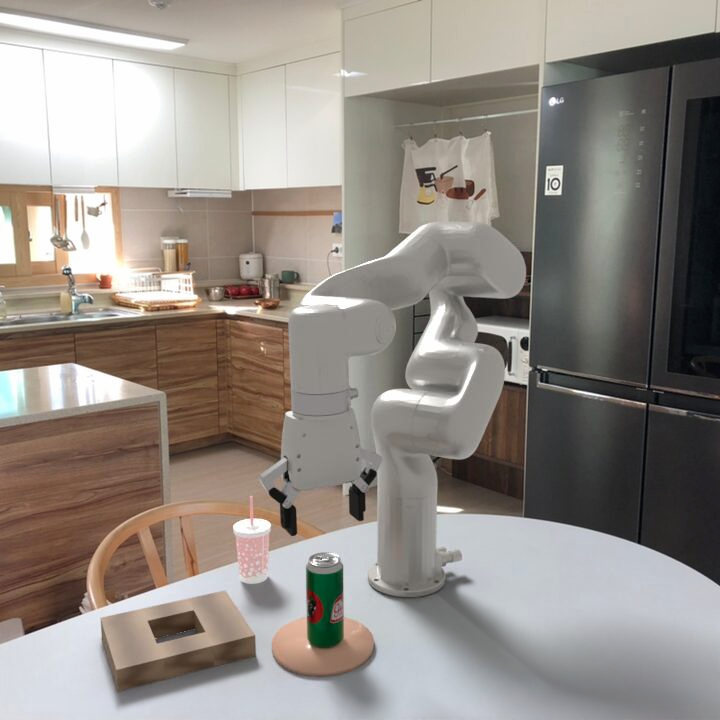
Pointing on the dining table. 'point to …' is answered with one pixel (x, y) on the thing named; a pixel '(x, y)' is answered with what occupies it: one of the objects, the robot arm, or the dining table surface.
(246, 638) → the pocket board
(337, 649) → the peach domed disc
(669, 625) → the dining table surface
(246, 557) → the beverage cup
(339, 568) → the soda can
